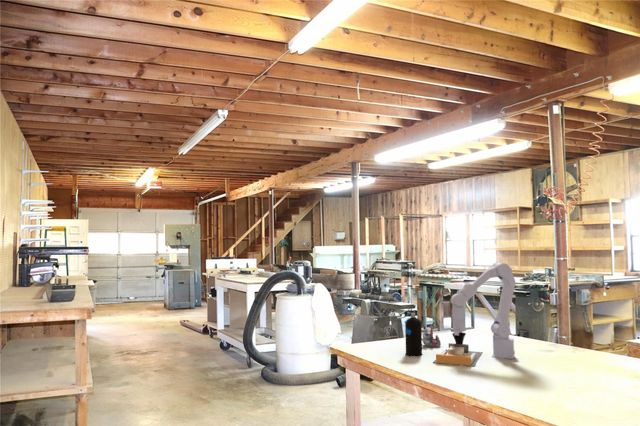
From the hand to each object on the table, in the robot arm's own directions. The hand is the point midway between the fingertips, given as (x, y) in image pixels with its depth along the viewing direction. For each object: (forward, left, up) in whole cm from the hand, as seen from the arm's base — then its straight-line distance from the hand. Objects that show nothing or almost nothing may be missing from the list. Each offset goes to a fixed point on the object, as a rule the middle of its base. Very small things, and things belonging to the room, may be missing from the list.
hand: (459, 348), depth 236 cm
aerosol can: (+21, +4, -4) cm, 22 cm away
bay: (0, +2, -4) cm, 4 cm away
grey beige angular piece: (0, +7, -4) cm, 8 cm away
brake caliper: (+18, -20, -4) cm, 27 cm away
